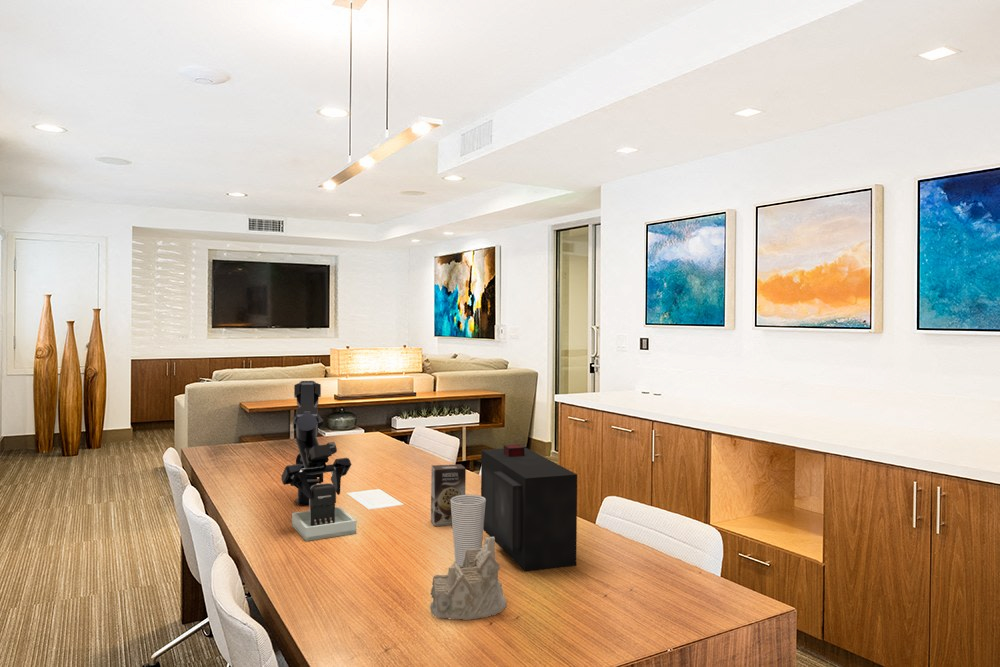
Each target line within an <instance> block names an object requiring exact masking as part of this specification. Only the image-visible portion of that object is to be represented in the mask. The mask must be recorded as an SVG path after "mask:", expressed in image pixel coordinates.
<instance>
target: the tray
mask: <svg viewBox="0 0 1000 667" xmlns="http://www.w3.org/2000/svg"><path fill="white" fill-rule="evenodd" d="M291 527H292V528H294V529H295V531H296V532H297V533H298V534H299V535H300V536H301V537H302V539H303V540H304V541H305V542H310V541H316V540H322V539H328V538H330V539H331V538H336V537H343V536H348V535H349V536H350V535H355V534H357V520H356V519H355V518H354V517H353V516H351V515H350V513H348V512H347V511H345V510H344V509H343V508H342V507H341V506H335V523H330V524H323V525H317V526H310V510H304V511H298V512H297V511H296V512H292V513H291Z"/></svg>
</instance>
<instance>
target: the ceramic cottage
mask: <svg viewBox="0 0 1000 667" xmlns="http://www.w3.org/2000/svg"><path fill="white" fill-rule="evenodd" d="M495 546H496V545H495V538H494V537H490V536H488V537H485V538H484V544H483V545H482V548H479V549H467V550H466V554H465V559H464V562H463V564H462V565H463V567H460V566H459V565H458V564H457V563H456V562H455V561H453V564H452V565H451V566H449V567H448V569H447V570H448V572H447V574H441V575H440V574H434V575H433V576H432V577H433V578H432V584H431V585H432V587H431V589H430V595H431V598H432V601H431V603H430V605H429V606H430V608H431V609H430V608H429V609H430V611H431V612H432V613H431V615H432V614H433V615H434V616H436V617H438V619H444V618H445V619H447V618H451V619H450V620H459V619H463V620H462V621H468V620H478V619H484V618H489V617H488V616H490V617H492V616H497V615H498V614H497V613H499V614H500V612H501V611H502V610H503V609H504V608H505V607H506V608H507V599H506V597H505V596H504V592H503V591H504V590H503V587H502V586H503V584H502V582H500V581H499V577H498V576H499V571H500V568H501V566H500V563H499V562H498V561H497V559H496V547H495ZM506 608H505V609H506ZM505 609H504V610H505ZM504 610H503V611H504ZM503 611H502V612H503ZM502 612H501V613H502ZM496 614H497V615H496ZM433 615H432V616H433ZM491 615H492V616H491ZM434 616H433V617H434ZM436 617H435V618H436ZM453 618H454V619H453Z"/></svg>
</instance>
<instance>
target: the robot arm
mask: <svg viewBox="0 0 1000 667" xmlns="http://www.w3.org/2000/svg"><path fill="white" fill-rule="evenodd" d="M293 387H294V388H293V389H294V390H293V391H294V393H293V394H294V395H293V396H294V399H295V398H296V405H297V406H298V408H297V409H296V410H295V411H296V412H295V416H293V421H292V422H293V425H292V426H293V430H294V429H295V430H296V437H295V442H296V445H297V448H298V452H299V454H297V456H296V458H295V464H289V465H286V466H285V467H284V470H283V472H282V474H281V476H280V478H281V482H282V484H283V485H284V486H285V485H290V486H291V487H294V488H296V489H297V498H295V499H294V502H295V503H296V504H297V505H298V506H306V505H309V499H310V500H312V498H313V496H312V492H311V489H310V488H311V487H312V486H313V485H316V484H323V483H324V474H325V473H331V477H330V481H331V484H333V486H334V487H335V489H336V495H338V496H340V495H341V482H342V480H341V479H342V477H344V476H346V475H347V473H348V471H349V470H350V469H351V466H352V462H351V460H350V459H349V457H341V458H336V459H334V461H333V463H332V464H326V463H329V460H330V459H329V458H330V457H332V456H333V455H334V454H336V453H337V451H338V448H337V445H336V443H335V441H330V442H329V441H328V443H325V444H320V443H319V440H318V438H317V436H318V431H319V428H321V427H322V426H324V424H323V423H324V422H323V421H324V420H323V418H322V417H321V415H319V411H318V410H319V409H318V408H317V406H318V405H319V398H322V395H321V392H322V391H321V390H322V389H321V388H322V386H321V384H320V383H319V382H316V381H314V380H301V381H299V383H296V384H294V386H293Z"/></svg>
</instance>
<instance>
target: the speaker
mask: <svg viewBox="0 0 1000 667" xmlns="http://www.w3.org/2000/svg"><path fill="white" fill-rule="evenodd" d="M480 451H481V452H480V454H481V455H480V456H481V457H480V458H481V459H480V462H481V465H480V471H481V472H480V482H481V483H480V485H481V486H480V496H482V497H484V498H485V499H486V505H485V517H484V528H483V532H485V533H486V535H488V537H494V538H495V541H494V543H495V544H497V546H498V547H500V549H501V550H502V551H504V553H506V555H507V556H508V557H509V558H511V560H512V561H514V563H515V564H516V565H517V566H518V567H519V568H520V570H522V571H523V572H524V573H526V572H536V571H542V570H552V569H561V568H571V567H577V538H578V537H577V536H578V533H577V530H578V528H577V526H578V523H577V522H578V518H577V516H578V515H577V514H578V474H577V473H575V472H573V471H572V470H569V469H567V468H566V467H563V466H562V465H560V464H558V463H556V462H554V461H553V460H550V459H548V458H547V457H544V456H543V455H540V454H539V453H537V452H535V451H533V450H531V449H529V448H527V447H524V446H522V445H520V444H511V445H510V444H509V445H508V444H507V445H503V448H492V449H481V450H480Z"/></svg>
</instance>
